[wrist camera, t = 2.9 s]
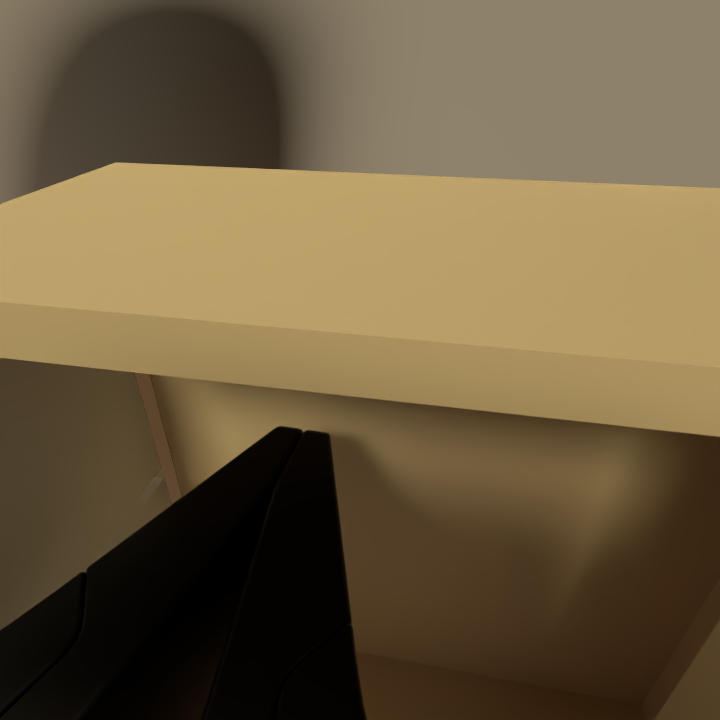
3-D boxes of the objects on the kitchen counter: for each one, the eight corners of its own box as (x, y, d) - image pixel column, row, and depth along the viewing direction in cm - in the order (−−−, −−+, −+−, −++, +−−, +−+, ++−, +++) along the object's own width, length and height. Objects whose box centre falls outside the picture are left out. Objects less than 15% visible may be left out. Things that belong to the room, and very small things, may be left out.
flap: (160, 467, 10) (18, 667, 7) (116, 461, 11) (-45, 654, 7) (89, 214, 8) (-200, 349, 4) (30, 210, 8) (-294, 339, 5)
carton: (651, 696, 12) (741, 1026, 8) (226, 618, 14) (124, 860, 10) (962, 198, 6) (2032, 552, 2) (116, 162, 8) (-297, 311, 4)
